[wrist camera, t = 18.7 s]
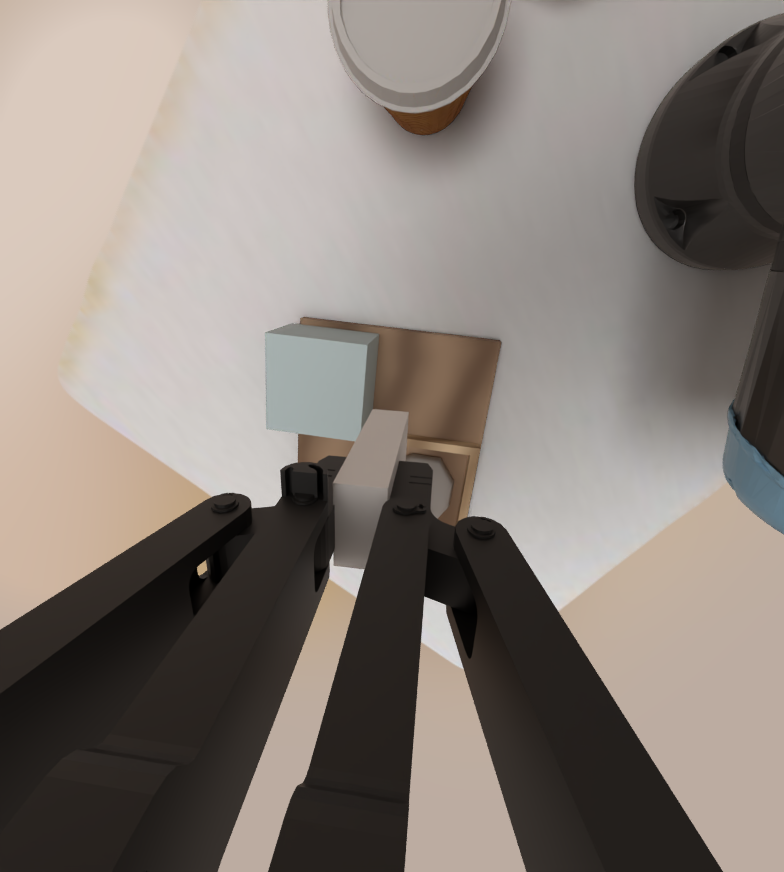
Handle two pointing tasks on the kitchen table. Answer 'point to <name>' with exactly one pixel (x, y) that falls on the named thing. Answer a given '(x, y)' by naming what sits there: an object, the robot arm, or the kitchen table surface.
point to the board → (427, 400)
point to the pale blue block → (320, 380)
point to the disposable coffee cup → (417, 53)
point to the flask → (437, 482)
